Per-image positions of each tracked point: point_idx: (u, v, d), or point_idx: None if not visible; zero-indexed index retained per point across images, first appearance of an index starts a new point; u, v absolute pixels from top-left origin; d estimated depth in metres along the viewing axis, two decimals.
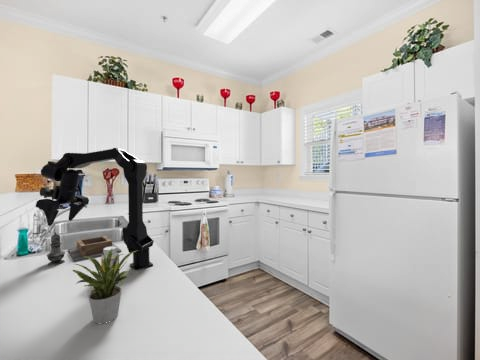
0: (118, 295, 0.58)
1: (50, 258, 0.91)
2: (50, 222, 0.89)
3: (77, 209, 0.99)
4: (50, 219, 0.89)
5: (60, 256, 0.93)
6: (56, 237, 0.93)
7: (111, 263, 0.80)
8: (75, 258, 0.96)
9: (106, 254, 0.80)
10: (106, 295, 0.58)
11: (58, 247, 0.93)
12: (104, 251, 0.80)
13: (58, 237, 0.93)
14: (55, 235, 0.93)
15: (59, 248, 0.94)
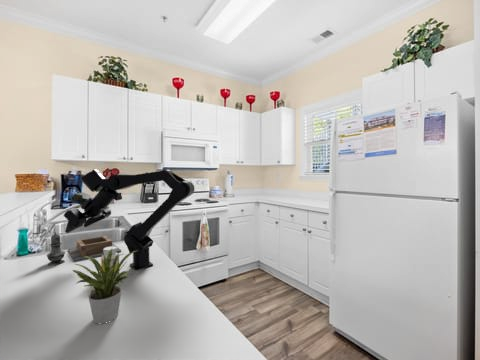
0: (118, 295, 0.58)
1: (50, 258, 0.91)
2: (68, 231, 0.87)
3: (96, 220, 0.97)
4: (70, 229, 0.87)
5: (60, 256, 0.93)
6: (56, 237, 0.93)
7: (111, 263, 0.80)
8: (75, 258, 0.96)
9: (106, 254, 0.80)
10: (106, 295, 0.58)
11: (58, 247, 0.93)
12: (104, 251, 0.80)
13: (58, 237, 0.93)
14: (55, 235, 0.93)
15: (59, 248, 0.94)
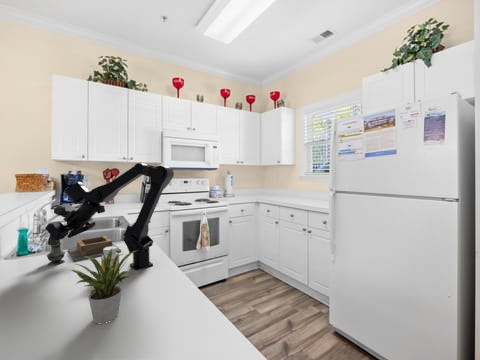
0: (118, 295, 0.58)
1: (50, 258, 0.91)
2: (51, 243, 0.88)
3: (80, 231, 0.98)
4: (52, 241, 0.87)
5: (60, 256, 0.93)
6: None
7: (111, 263, 0.80)
8: (75, 258, 0.96)
9: (106, 254, 0.80)
10: (106, 295, 0.58)
11: (58, 247, 0.93)
12: (104, 251, 0.80)
13: None
14: None
15: (59, 248, 0.94)
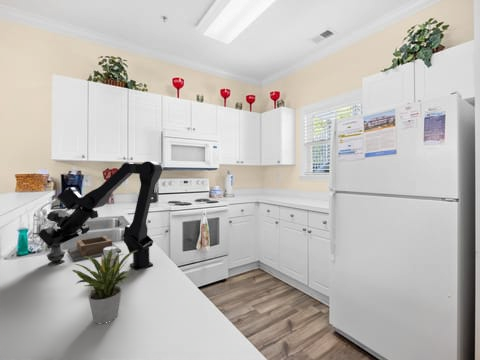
0: (118, 295, 0.58)
1: (50, 258, 0.91)
2: (50, 246, 0.91)
3: (69, 238, 0.95)
4: (52, 244, 0.90)
5: (60, 256, 0.93)
6: None
7: (111, 263, 0.80)
8: (75, 258, 0.96)
9: (106, 254, 0.80)
10: (106, 295, 0.58)
11: (58, 247, 0.93)
12: (104, 251, 0.80)
13: None
14: None
15: (59, 248, 0.94)
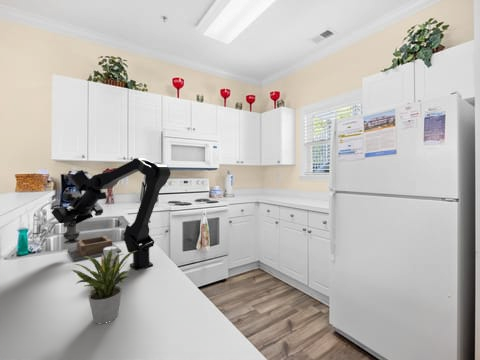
0: (118, 295, 0.58)
1: (65, 236, 0.97)
2: (66, 225, 0.97)
3: (83, 219, 1.00)
4: (66, 223, 0.96)
5: (74, 235, 0.98)
6: None
7: (111, 263, 0.80)
8: (75, 258, 0.96)
9: (106, 254, 0.80)
10: (106, 295, 0.58)
11: (73, 227, 0.98)
12: (104, 251, 0.80)
13: None
14: None
15: (74, 228, 0.99)
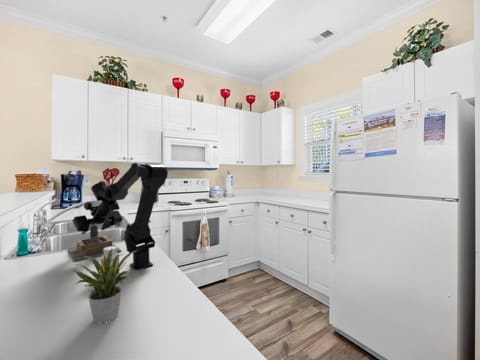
0: (118, 295, 0.58)
1: None
2: (82, 233, 1.03)
3: (108, 225, 1.09)
4: (82, 231, 1.02)
5: None
6: (93, 227, 1.06)
7: (111, 263, 0.80)
8: (75, 258, 0.96)
9: (106, 254, 0.80)
10: (106, 295, 0.58)
11: (95, 236, 1.06)
12: (104, 251, 0.80)
13: (95, 227, 1.06)
14: (93, 225, 1.06)
15: (96, 237, 1.06)
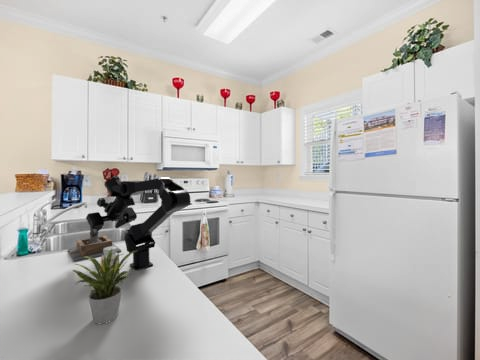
0: (118, 295, 0.58)
1: None
2: (95, 231, 0.97)
3: (123, 223, 1.04)
4: (95, 229, 0.96)
5: None
6: None
7: (111, 263, 0.80)
8: (75, 258, 0.96)
9: (106, 254, 0.80)
10: (106, 295, 0.58)
11: (95, 236, 1.06)
12: (104, 251, 0.80)
13: None
14: None
15: (96, 237, 1.06)
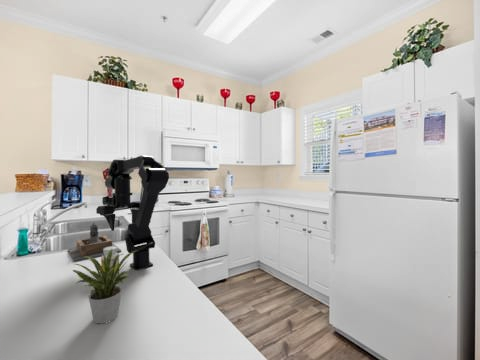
0: (118, 295, 0.58)
1: None
2: (112, 227, 0.95)
3: (136, 213, 1.03)
4: (111, 224, 0.94)
5: None
6: (93, 227, 1.06)
7: (111, 263, 0.80)
8: (75, 258, 0.96)
9: (106, 254, 0.80)
10: (106, 295, 0.58)
11: (95, 236, 1.06)
12: (104, 251, 0.80)
13: (95, 227, 1.06)
14: (93, 225, 1.06)
15: (96, 237, 1.06)
